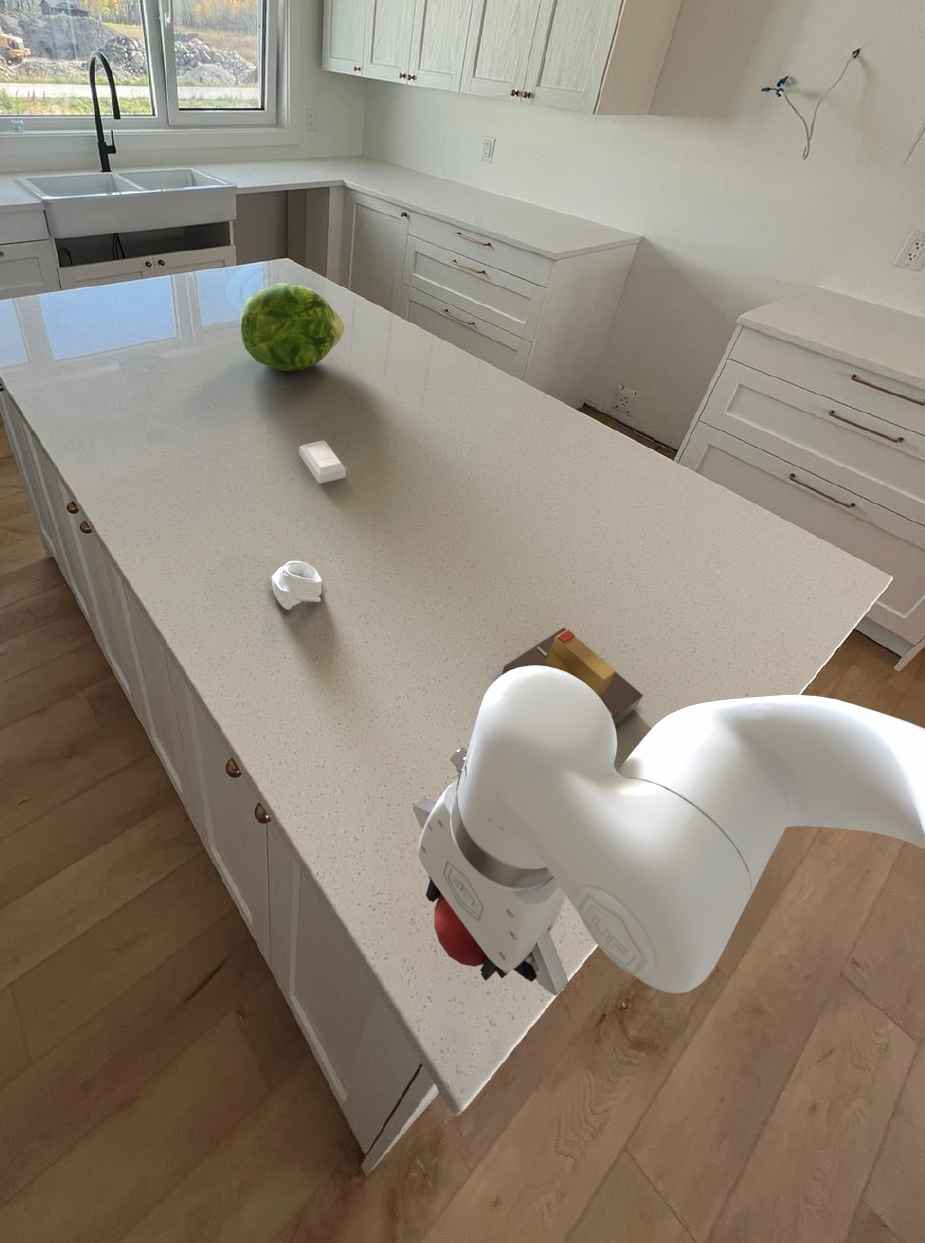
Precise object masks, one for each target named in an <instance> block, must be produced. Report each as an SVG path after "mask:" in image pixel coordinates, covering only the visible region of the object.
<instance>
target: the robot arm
mask: <svg viewBox="0 0 925 1243" xmlns="http://www.w3.org/2000/svg"><path fill="white" fill-rule="evenodd" d="M501 675H502V674H501ZM501 675H500V676H499V677H498V678H497V679H496V680H495V681H493V682H492V684H491V685H490V686H489V687H488V689H487V691H486V692H485V694H484V696H483V699H482V700H481V703H480V707H479V710H478V713H477V717H476V720H475V724H474V727H473V731H472V733H471V738H470V742H469V745H468V749H466V748H465V747H460V748H458V750H456V751H455V752H454V753H453V755H452V756H451V757H450V762H451V763H452V764H453V765H454V766H455V767H456V772H457V773H458V774H457V777H458V779H456V780H454V781H452V782H451V783H450V785H448V787H447V788H446V789H445V790H444V791H443V793H442V794H441V795H440V797H439V798H438V799H437V802H436V801H433V800H431V799H428V798H426V797H425V798H423V799H421V800H420V801H419V802H417V803H416V804H415V805H414V806H412V809H413V812H414V815H415V818H416V820H417V822H418V824H419V827H420V828H421V829H422V832H421V833H420V836H419V840H418V847H417V852H418V859H419V861H420V863H421V865H422V867H423V869H424V870H425V872H426V873H427V875H428V879H429V882H428V885H427V889H426V892H425V897H426V898H427V901H429V902H431V903H434V902H435V901H437V900H438V898H439V895H440V894H441V893H442V895H443V896H444V898H445V899H446V900H447V902H448V903H449V905H450V906H451V907H452V909H453V910H454V912H455V913H456V914H457V916H458V917H459V919H460V920H461V921H462V923H463V924H464V925H465V927H466V928H467V929H468V931H469V932H470V934H471V935H472V936H473V938H474V939H475V940H476V942H477V943H478V944H479V946H480V947H481V948H482V950H483V951H484V952H485V954H486V955H487V958H486V960H485V962H484V964H483V965H481V968H480V972H481V974H480V975H481V977H482V978H483V980H484V981H485V982H486V981H488V980H489V979H490V978H491V977H492V976H493V975H494V974H495V973H497V974H498V976H499V977H500V979H504V978H505V977H506V976H507V975H508V974H509V973H510V972H511V971H514V972H516V973H517V974H519V975H520V976H522V977H523V978H524V979H525V980H527V981H529V982H530V983H531V982H532V983H533V982H534V981H535V980H536V981H537V984H538V985H539V986H540V987H542V988H544V989H545V990H546V991H548V992H549V993H551V994H552V995H554V996H556V997H557V996H558V995H559V994H560V993H561V992H562V991H563V990H564V988H566V986H567V985H568V984H569V979H568V976H567V974H566V971H565V969H564V967H563V964H562V962H561V959H560V957H559V956H560V955H559V953H558V951H557V949H556V945H555V943H554V941H553V938H552V935H551V931H552V930H553V928H554V926H555V925H556V923H557V920H558V918H559V916H560V913H561V910H562V907H563V905H564V900H565V898H566V897H567V899H568V901H569V902H570V904H571V905H572V906H573V908H574V910H575V911H576V912H577V914H578V915H579V917H580V918H581V921H582V923H583V925H584V926H585V928H586V930H587V932H588V933H589V935H590V936H591V938H592V939H593V941H594V943H595V944H596V945H597V946H598V947H599V948H600V950H601V951H602V952H603V953H604V954H605V955H606V956H607V957H608V958H609V959H610V960H611V961H612V962H613V963H614V964H616V965H617V966H618V967H619V968H621V969H622V970H624V971H625V972H627V973H629V974H630V975H632V976H634V977H635V978H637V979H638V980H639V981H641V982H642V983H643V984H645V985H647V986H649V987H651V988H653V989H655V990H658V991H660V992H665V993H669V994H682V993H683V994H684V993H687V992H691V991H693V990H694V989H696V988H697V987H700V985H701V984H703V982H704V981H706V979H707V978H708V977H709V976H710V974H711V973H712V971H713V970H714V969H715V967H716V966H717V964H718V962H719V960H720V958H721V956H722V955H723V953H724V951H725V948H726V946H727V944H728V943H729V941H730V939H731V936H732V935H733V932H734V930H735V928H736V927H737V924H738V922H739V921H740V919H741V917H742V915H743V913H744V910H745V908H746V906H747V905H748V902H749V900H751V897H752V895H753V894H754V891H755V889H756V887H757V885H758V883H759V880H760V879H761V877H762V874H763V872H764V871H765V869H766V866H768V863H769V861H770V859H771V857H772V855H773V854H774V851H775V850H776V848H777V846H778V844H779V843H780V841H781V839H782V836H783V834H784V833H785V831H786V828H792V827H814V828H815V827H816V828H829V829H840V830H841V829H842V830H852V831H861V832H867V833H874V834H879V835H883V836H887V837H891V838H895V839H898V840H900V841H903V842H906V843H909V844H911V845H913V846H916V847H919V848H921V849H923V850H925V728H924V727H922V726H919V725H917V724H914V723H912V722H909V721H906V720H905V719H904V720H903V719H902V718H898V717H895V716H891V715H889V714H885V713H884V712H883V713H882V712H879V711H876V710H873V709H870V708H867V707H863V706H860V705H857V704H855V703H850V702H847V701H843V700H839V699H836V698H830V697H824V696H816V695H805V694H782V695H781V694H780V695H767V696H756V697H742V698H730V699H722V700H721V699H720V700H716V701H715V700H714V701H707V702H702V703H697V704H693V705H689V706H686V707H683V708H681V709H678V710H676V711H674V712H672V713H670V714H668V715H666V716H665V717H663V718H662V719H661V720H660V721H658V722H657V723H656V724H654V726H653V727H652V728H651V730H649V732H648V733H647V734H646V735H645V736H644V737H643V738H642V739H641V741H640V742H639V743H638V745H637V746H636V747H635V748H634V749H633V750H632V752H631V753H630V755H629V756H628V757H627V758H626V759H625V760H624V762H623V763H622V765H621V766H620V768H619V769H618V770H617V769H616V767H615V760H616V756H617V752H618V751H617V750H618V735H617V729H616V726H615V725H614V722H613V719H612V717H611V715H610V712H609V710H608V709H607V707H606V706H605V704H604V703H603V701H602V700H601V698H600V697H599V696H598V695H597V694H596V693H595V692H594V691H593V690H592V689H591V688H590V687H589V686H588V685H587V684H585V683H584V682H583V681H581V680H580V679H578V678H577V677H575V676H573V675H571V674H569V673H567V672H565V671H562V670H559V669H556V668H552V667H547V666H525V667H519V668H516V669H513V670H510V671H508V672H507V673H505V674H503V675H502V676H501Z"/></svg>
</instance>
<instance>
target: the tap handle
mask: <svg viewBox="0 0 925 1243" xmlns="http://www.w3.org/2000/svg"><path fill="white" fill-rule="evenodd" d="M601 658H602V657H600V656H599V655H598V654H596V652H595V651H593V650H592V649H591V648H590V647H589V646H587V645H586V644H585V643H584V642H583V641H582V640H580V639H579V638H578V637H577V636H576V635H575V634H574V633H573V632H572V631H571V630H569V629H566V631H564V632H563V633H561V634H560V635H558V636H557V637H555V640H554V642H553V645H552V647H551V650H550V652H549V655H548V657H547V659H546V662H545V664H546V665H547V666H548V667H552V668H556V669H559V670H562V671H565V672H567V673H569V674H571V675H573V676H575V677H577V678H578V679H580V680H581V681H583V682H584V683H585V684H587V685H588V686H589V687H590V688H591V689H592V690H593V691H594V692H595V693H596V694H597V695H598V696H599V697H600V698H602V697H603V695H604V694H605V692H606V690H607V688H608V686H609V684H610V682H611V680H612V678H613V676H614V674H615V672H616V673H617V671H616V669H614V668H613V666H611V665H610V664H608V663H607V662H606V661H605V659H604V660H602V659H603V658H602V659H601Z"/></svg>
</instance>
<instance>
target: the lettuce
mask: <svg viewBox="0 0 925 1243" xmlns="http://www.w3.org/2000/svg"><path fill="white" fill-rule="evenodd" d="M239 333H240V337H241V342H242V345H243V346H244V349H245V350H246V351H247V352H248V353H249V355H250V356H251V357H252V358H253V359H254V360H255V361H256V362H257V363H260V364H262V365H264V366H267V367H270V368H272V369H276V370H279V371H282V372H296V371H297V372H298V371H303V370H307V369H310V368H311V367H313V366H315V365H316V364H318V363H319V362H321V361H322V360H323V359H324V358H325V357H326V356H327V355H329V353H330V351H331V350H332V349H333V348H334V347H335V346H336V345H337V344H338V343H339V342H340V340H341V339H342V337H343V335H344V333H345V323H344V321H343V319H342V317H341V316H340V315H339V313H338V312H337V311H336V310H335V309H333V308H332V307H331V305H330V304H329V302H328V301H327V300H326V299H325V298H324V297H323V296H322V295H320V294H319V293H318V292H317V291H316V290H313V289H311V288H310V287H307V286H304V285H298V284H291V283H285V282H284V283H283V282H281V283H276V284H275V283H274V284H271V285H269V286H267V287H265V288H263V289H261V290H259V291H257V292H254V293H252V294H251V295H250V296H249V297H248V298H247V300H246V301H245V302H244V305H243V306H242V309H241V312H240V316H239Z"/></svg>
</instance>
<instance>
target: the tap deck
mask: <svg viewBox="0 0 925 1243" xmlns="http://www.w3.org/2000/svg"><path fill="white" fill-rule="evenodd" d="M566 630H567V629H566V628H565V627H562V628H560V629H559V630H557V631H556V632H554V633H553V634H551V635H550V636H548V637H546V638H545V639H544V640H542V641H540V642H539V643H537V644H536V645H534V646H533V647H531V648H529V649H528V650H526V651H524V652H523V653H522V654H520V655H518V656H517V657H516V658H513V660H511V661H509V662H508V663H506V664H505V665H504V666H503V669H502V671H501V672H502V673H501V675H500V676H502V675H503V674H505V673H507V672H508V671H510V670H513V669H516V668H519V667H525V666H547V665H546V664H545V662H546V659H547V657H548V655H549V652H550V650H551V647H552V645H553V642H554V640H555V637H557V636H558V635H560V634H561V633H563V632H564V631H566ZM600 658H601V659H602V660H604V661H605V659H604V658H603V657H600ZM547 667H548V666H547ZM643 697H644V695H643V693H641V692H640V691H639V690H638V689H637V688H635V687H634V686H633V685H632V684H631V683H629V681H627V680H626V679H625V678H624V677H623V676H622V675H620V674H619V673H618V672H617V671H616V672H615V674H614V676H613V678H612V680H611V682H610V684H609V686H608V688H607V690H606V692H605V694H604V695H603V697H602V698H601V700H602V701H603V703H604V704H605V706H606V707H607V709H608V710H609V712H610V715H611V717H612V719H613V722H614V725H615V727H616V726H617V725H618V724H619V723H621V722H622V721H623V720H624V719H625V718H627V717H628V716H629V715H630V714H631V713H633V712H634V711H636V708H637V707H638V705H639V703H640V702H641V700H642V698H643Z"/></svg>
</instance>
